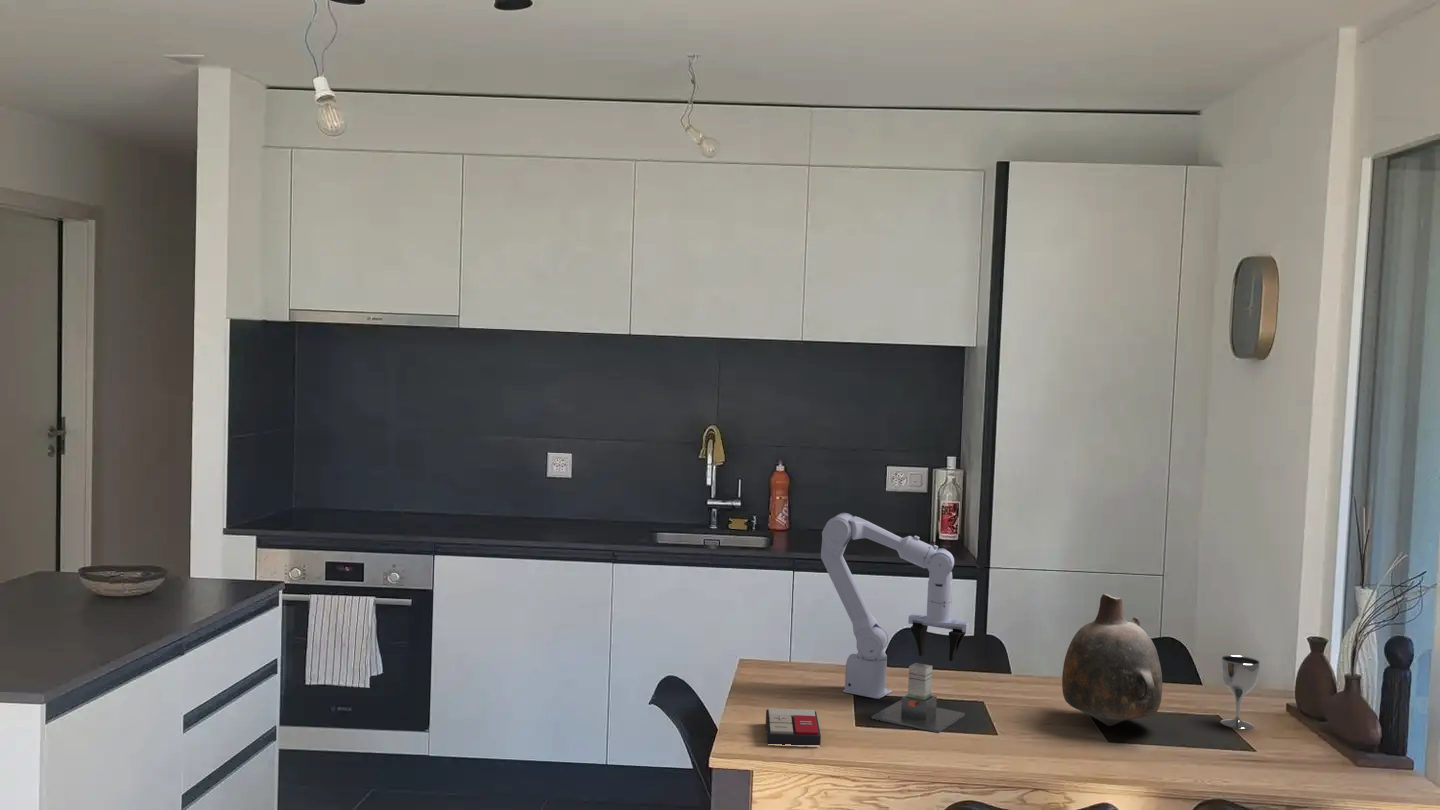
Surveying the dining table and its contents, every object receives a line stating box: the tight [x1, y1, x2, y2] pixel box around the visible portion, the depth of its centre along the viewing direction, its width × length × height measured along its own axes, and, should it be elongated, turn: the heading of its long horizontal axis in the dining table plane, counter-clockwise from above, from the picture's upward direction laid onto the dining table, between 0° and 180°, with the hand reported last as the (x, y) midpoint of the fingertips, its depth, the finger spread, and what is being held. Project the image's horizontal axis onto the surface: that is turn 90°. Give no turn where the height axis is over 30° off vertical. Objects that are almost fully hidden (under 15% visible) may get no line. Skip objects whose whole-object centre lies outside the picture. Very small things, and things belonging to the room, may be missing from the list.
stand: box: [871, 694, 966, 734], centre depth 273 cm, size 16×16×5 cm
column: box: [907, 662, 933, 701], centre depth 273 cm, size 4×4×8 cm
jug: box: [1061, 593, 1163, 727], centre depth 272 cm, size 24×21×30 cm
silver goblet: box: [1220, 654, 1261, 730], centre depth 277 cm, size 8×8×15 cm
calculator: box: [765, 708, 822, 746], centre depth 257 cm, size 11×4×15 cm
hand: (937, 657), depth 287 cm, fingers open, 7 cm apart
